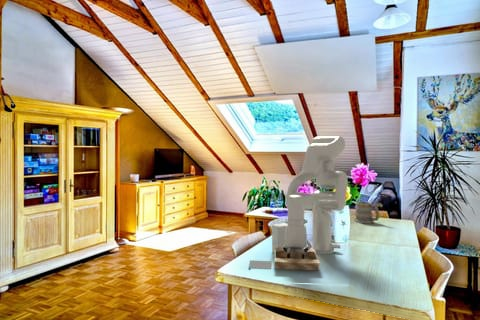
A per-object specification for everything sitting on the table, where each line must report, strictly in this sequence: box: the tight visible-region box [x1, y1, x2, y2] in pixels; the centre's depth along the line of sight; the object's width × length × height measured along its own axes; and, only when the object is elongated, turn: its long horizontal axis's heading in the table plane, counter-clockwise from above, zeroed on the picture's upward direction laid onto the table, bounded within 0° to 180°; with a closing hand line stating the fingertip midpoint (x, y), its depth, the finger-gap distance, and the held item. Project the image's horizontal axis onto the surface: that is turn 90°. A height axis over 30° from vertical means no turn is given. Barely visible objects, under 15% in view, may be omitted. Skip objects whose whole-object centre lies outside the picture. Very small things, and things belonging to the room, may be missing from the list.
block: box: [290, 248, 302, 259], centre depth 151 cm, size 5×7×8 cm
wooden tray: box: [273, 248, 321, 271], centre depth 151 cm, size 19×20×5 cm
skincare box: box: [271, 222, 288, 253], centre depth 169 cm, size 8×6×15 cm
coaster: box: [248, 259, 272, 270], centre depth 150 cm, size 10×10×1 cm
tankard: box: [353, 201, 384, 224], centre depth 242 cm, size 20×13×15 cm, turn 43°
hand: (295, 261), depth 151 cm, fingers closed on block, 5 cm apart
